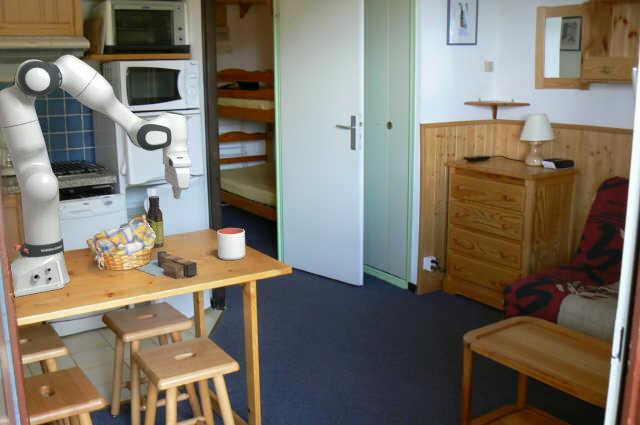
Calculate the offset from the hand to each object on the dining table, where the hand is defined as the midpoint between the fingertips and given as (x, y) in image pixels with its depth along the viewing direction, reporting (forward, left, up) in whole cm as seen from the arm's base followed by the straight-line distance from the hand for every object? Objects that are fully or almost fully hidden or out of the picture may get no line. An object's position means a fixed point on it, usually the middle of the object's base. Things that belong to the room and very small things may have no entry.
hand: (176, 198), depth 245 cm
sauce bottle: (+9, +28, -24) cm, 38 cm away
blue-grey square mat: (-5, +3, -24) cm, 25 cm away
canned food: (-3, +26, -24) cm, 36 cm away
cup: (+19, -6, -25) cm, 31 cm away
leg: (-5, -5, -24) cm, 25 cm away
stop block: (-6, -9, -24) cm, 27 cm away
